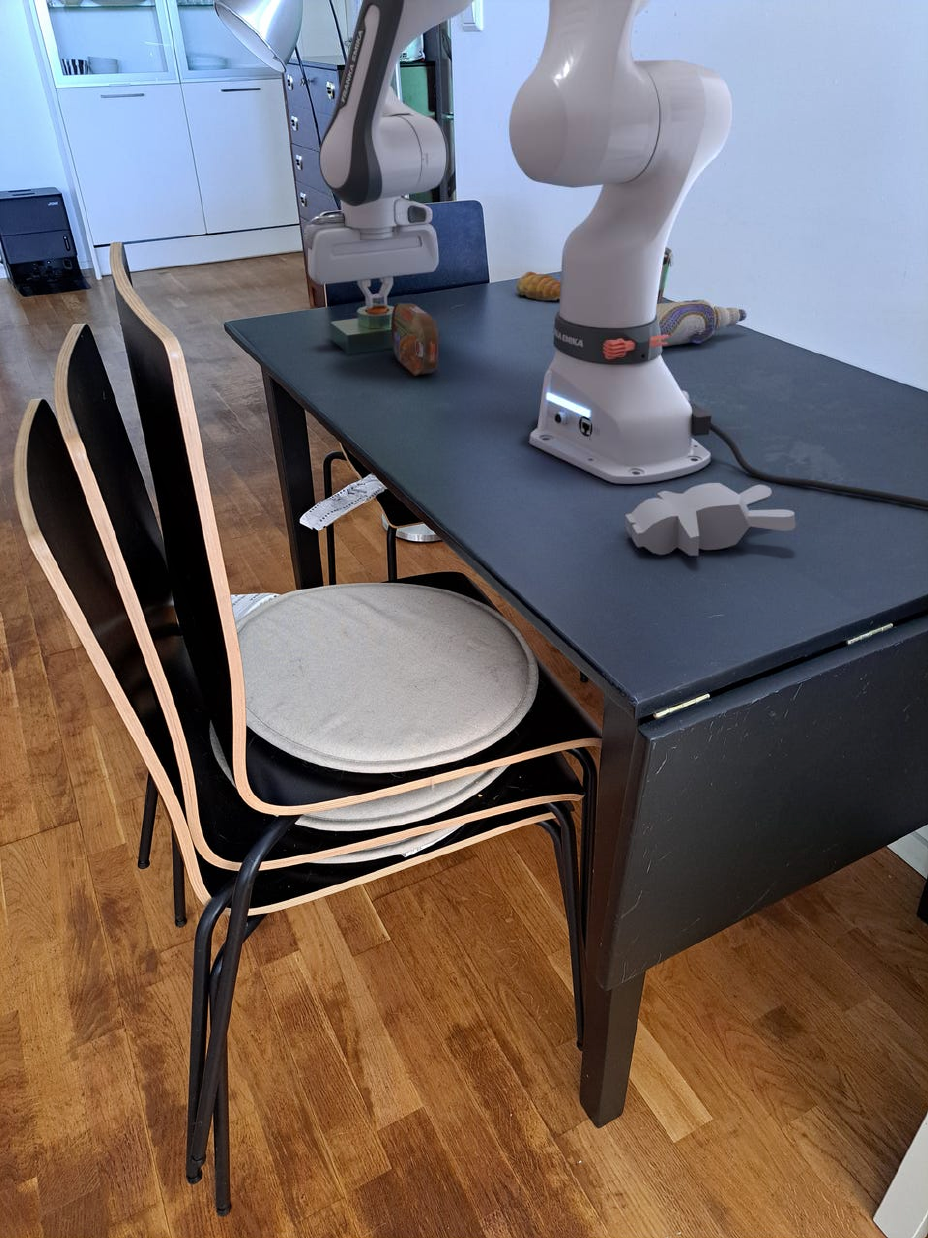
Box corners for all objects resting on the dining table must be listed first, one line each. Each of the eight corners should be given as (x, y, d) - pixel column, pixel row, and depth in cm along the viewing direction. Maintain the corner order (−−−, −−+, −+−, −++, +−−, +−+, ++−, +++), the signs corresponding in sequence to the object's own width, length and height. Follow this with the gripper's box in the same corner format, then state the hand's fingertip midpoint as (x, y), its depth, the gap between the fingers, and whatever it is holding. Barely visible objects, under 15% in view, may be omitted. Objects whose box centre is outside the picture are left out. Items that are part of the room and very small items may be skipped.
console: (426, 343, 141) (425, 310, 138) (348, 354, 136) (346, 321, 133) (406, 330, 146) (405, 298, 144) (331, 340, 142) (329, 308, 139)
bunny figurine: (616, 487, 88) (762, 461, 88) (617, 532, 90) (759, 506, 91) (646, 532, 80) (806, 503, 81) (646, 580, 83) (801, 551, 84)
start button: (390, 322, 139) (390, 308, 138) (371, 324, 138) (371, 311, 136) (383, 317, 141) (382, 304, 140) (364, 319, 140) (363, 306, 139)
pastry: (574, 297, 163) (576, 276, 161) (550, 305, 159) (551, 283, 157) (536, 288, 169) (537, 267, 166) (512, 295, 165) (512, 274, 163)
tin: (390, 353, 136) (387, 296, 132) (409, 350, 137) (407, 294, 133) (421, 383, 125) (420, 323, 120) (442, 381, 126) (441, 320, 121)
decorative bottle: (618, 361, 132) (622, 316, 129) (593, 348, 138) (596, 304, 135) (758, 340, 141) (766, 297, 137) (729, 328, 147) (735, 286, 143)
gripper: (310, 220, 124) (319, 320, 132) (442, 208, 132) (443, 304, 140) (296, 213, 129) (306, 310, 137) (425, 202, 136) (427, 295, 144)
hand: (376, 307), depth 138 cm, fingers closed, pressing on start button
